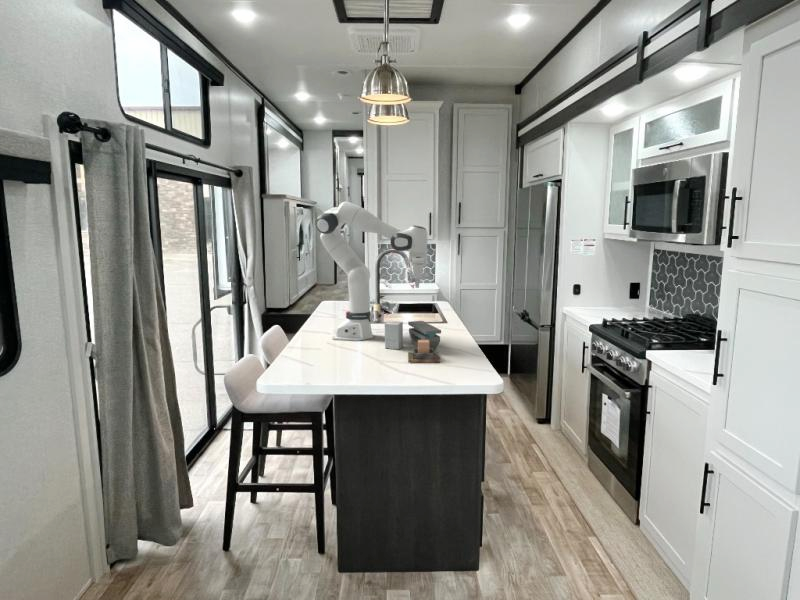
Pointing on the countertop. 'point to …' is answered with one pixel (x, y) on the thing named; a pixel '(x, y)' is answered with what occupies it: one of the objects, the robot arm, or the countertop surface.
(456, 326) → the countertop surface
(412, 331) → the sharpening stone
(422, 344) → the block
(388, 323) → the supplement box
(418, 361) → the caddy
